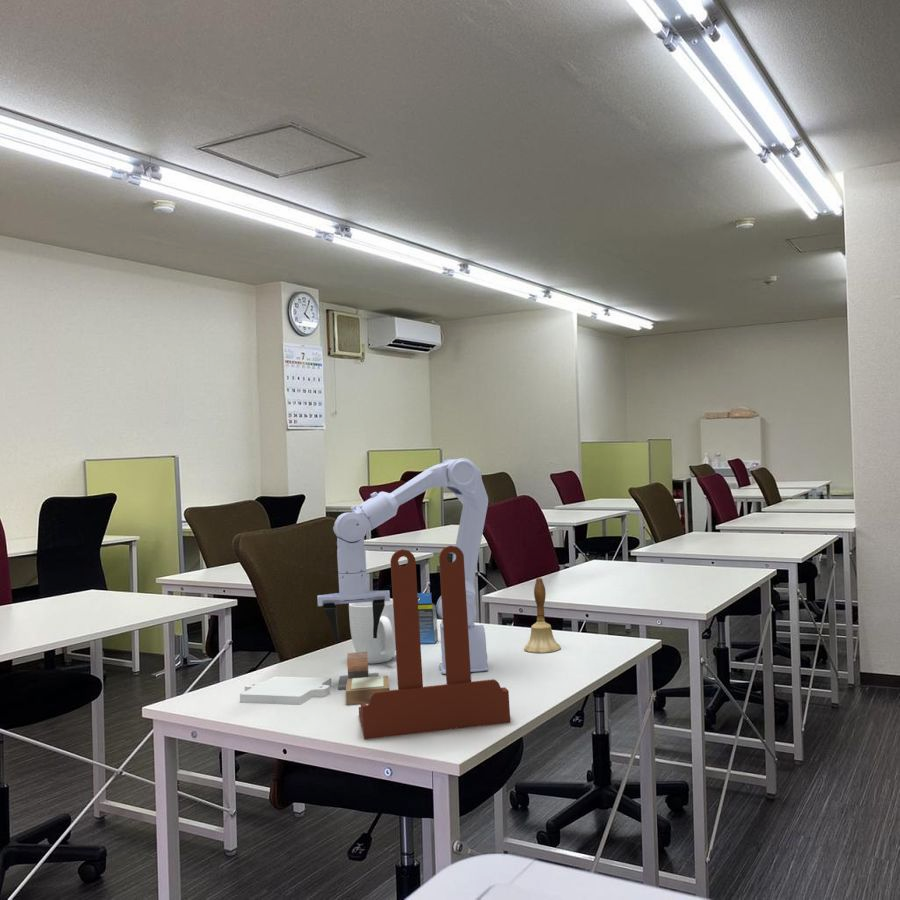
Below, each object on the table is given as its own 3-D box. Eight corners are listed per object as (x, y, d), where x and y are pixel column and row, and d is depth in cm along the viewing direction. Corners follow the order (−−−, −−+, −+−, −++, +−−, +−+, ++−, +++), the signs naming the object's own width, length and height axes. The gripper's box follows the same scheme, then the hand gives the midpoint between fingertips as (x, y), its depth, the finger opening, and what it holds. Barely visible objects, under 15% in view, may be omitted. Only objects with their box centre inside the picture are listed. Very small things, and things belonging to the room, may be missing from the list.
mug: (415, 664, 184) (412, 604, 184) (368, 672, 179) (364, 611, 179) (389, 652, 197) (386, 596, 197) (345, 659, 192) (341, 602, 192)
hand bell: (537, 643, 197) (533, 575, 197) (568, 647, 192) (563, 576, 192) (516, 651, 191) (512, 580, 191) (547, 655, 185) (542, 582, 186)
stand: (389, 688, 166) (388, 674, 166) (389, 701, 157) (389, 686, 157) (347, 691, 165) (347, 677, 165) (346, 705, 156) (345, 690, 156)
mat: (378, 675, 176) (378, 672, 176) (378, 686, 167) (378, 684, 167) (339, 678, 176) (339, 675, 176) (338, 689, 167) (337, 687, 167)
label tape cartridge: (438, 640, 207) (435, 590, 207) (434, 644, 203) (431, 592, 203) (403, 640, 209) (400, 590, 209) (399, 644, 205) (396, 593, 205)
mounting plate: (343, 688, 170) (342, 678, 170) (312, 707, 157) (312, 697, 157) (264, 685, 175) (263, 676, 175) (228, 703, 163) (228, 693, 163)
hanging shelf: (493, 701, 153) (483, 536, 153) (510, 723, 140) (499, 542, 140) (359, 716, 149) (349, 546, 149) (364, 740, 136) (353, 553, 136)
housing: (368, 675, 175) (367, 651, 175) (368, 682, 169) (367, 657, 169) (349, 676, 174) (347, 652, 174) (348, 684, 168) (346, 659, 168)
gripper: (387, 566, 176) (391, 632, 176) (317, 571, 175) (321, 637, 175) (388, 571, 169) (392, 639, 169) (315, 576, 168) (319, 644, 168)
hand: (356, 638), depth 172 cm, fingers open, 7 cm apart
